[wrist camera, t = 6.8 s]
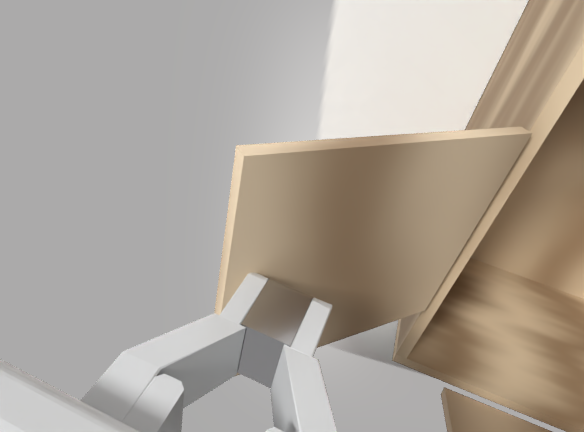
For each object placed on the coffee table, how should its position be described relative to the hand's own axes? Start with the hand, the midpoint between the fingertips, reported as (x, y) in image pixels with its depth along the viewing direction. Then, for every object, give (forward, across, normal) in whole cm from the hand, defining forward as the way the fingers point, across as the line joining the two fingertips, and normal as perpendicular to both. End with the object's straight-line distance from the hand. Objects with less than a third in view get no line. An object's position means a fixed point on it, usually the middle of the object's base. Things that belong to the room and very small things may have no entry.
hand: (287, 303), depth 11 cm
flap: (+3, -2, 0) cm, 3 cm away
